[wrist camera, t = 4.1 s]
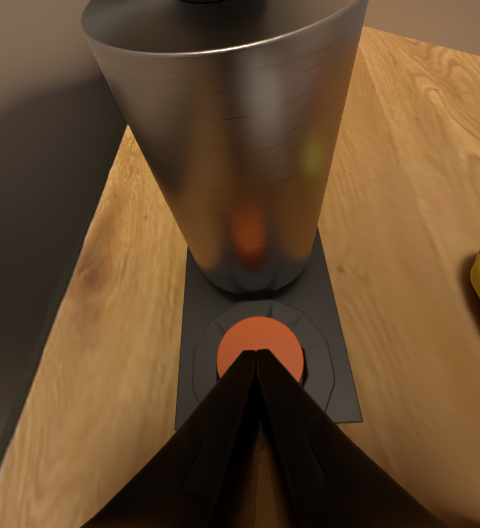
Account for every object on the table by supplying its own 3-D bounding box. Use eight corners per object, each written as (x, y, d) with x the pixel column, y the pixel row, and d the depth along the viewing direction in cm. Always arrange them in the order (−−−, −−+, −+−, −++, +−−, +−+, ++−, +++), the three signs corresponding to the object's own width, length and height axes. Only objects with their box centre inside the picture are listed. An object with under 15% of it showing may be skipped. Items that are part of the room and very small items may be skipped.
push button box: (344, 436, 16) (382, 444, 11) (197, 442, 17) (158, 453, 11) (308, 255, 23) (320, 201, 17) (203, 265, 23) (180, 216, 18)
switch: (305, 407, 12) (311, 404, 10) (224, 410, 12) (216, 409, 10) (293, 326, 14) (296, 312, 12) (223, 331, 14) (216, 318, 12)
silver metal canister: (323, 289, 14) (470, -98, 4) (191, 300, 15) (-24, -12, 4) (302, 191, 18) (344, -149, 7) (196, 203, 18) (89, -99, 8)
